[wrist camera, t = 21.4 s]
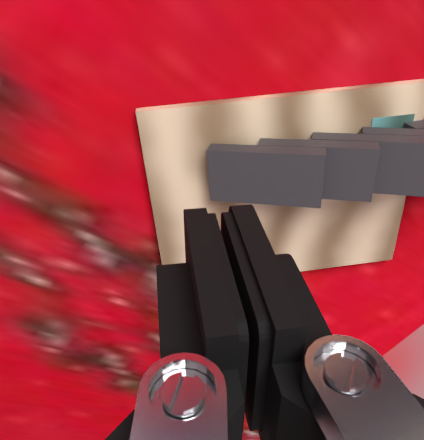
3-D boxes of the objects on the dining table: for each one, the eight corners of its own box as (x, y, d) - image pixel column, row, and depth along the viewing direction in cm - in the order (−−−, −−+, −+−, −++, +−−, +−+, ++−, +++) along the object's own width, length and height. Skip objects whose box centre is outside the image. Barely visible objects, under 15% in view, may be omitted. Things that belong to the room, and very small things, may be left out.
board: (166, 283, 46) (166, 289, 45) (136, 108, 35) (135, 112, 34) (387, 254, 47) (392, 260, 46) (425, 78, 36) (432, 81, 36)
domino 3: (355, 183, 38) (473, 191, 36) (363, 133, 36) (491, 138, 33) (355, 175, 40) (469, 183, 37) (362, 126, 37) (486, 131, 34)
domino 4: (308, 188, 38) (424, 196, 36) (311, 138, 36) (437, 143, 33) (309, 180, 40) (421, 188, 37) (313, 132, 37) (434, 136, 34)
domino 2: (258, 194, 38) (371, 202, 36) (257, 145, 35) (380, 149, 33) (260, 186, 39) (369, 193, 37) (260, 138, 37) (378, 141, 34)
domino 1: (210, 200, 38) (320, 208, 35) (206, 150, 35) (326, 155, 33) (214, 192, 39) (321, 199, 37) (210, 143, 36) (326, 147, 34)
